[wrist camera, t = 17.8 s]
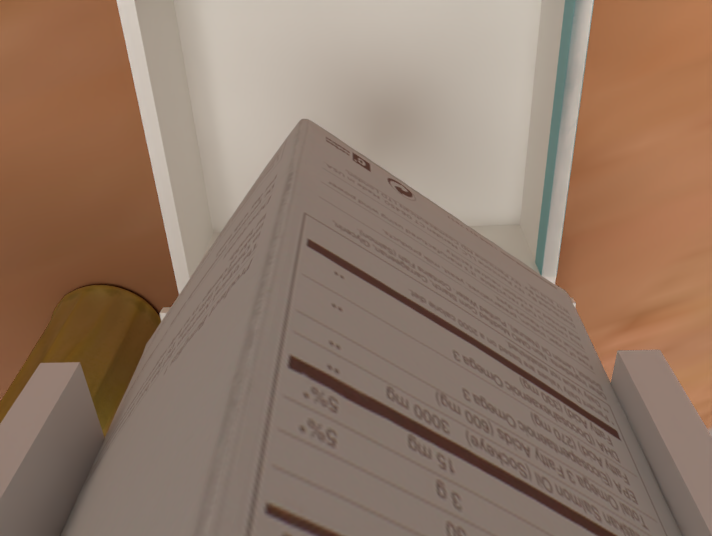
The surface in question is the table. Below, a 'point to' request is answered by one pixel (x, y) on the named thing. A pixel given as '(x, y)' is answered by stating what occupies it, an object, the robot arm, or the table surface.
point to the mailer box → (364, 105)
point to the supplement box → (366, 381)
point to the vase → (93, 344)
